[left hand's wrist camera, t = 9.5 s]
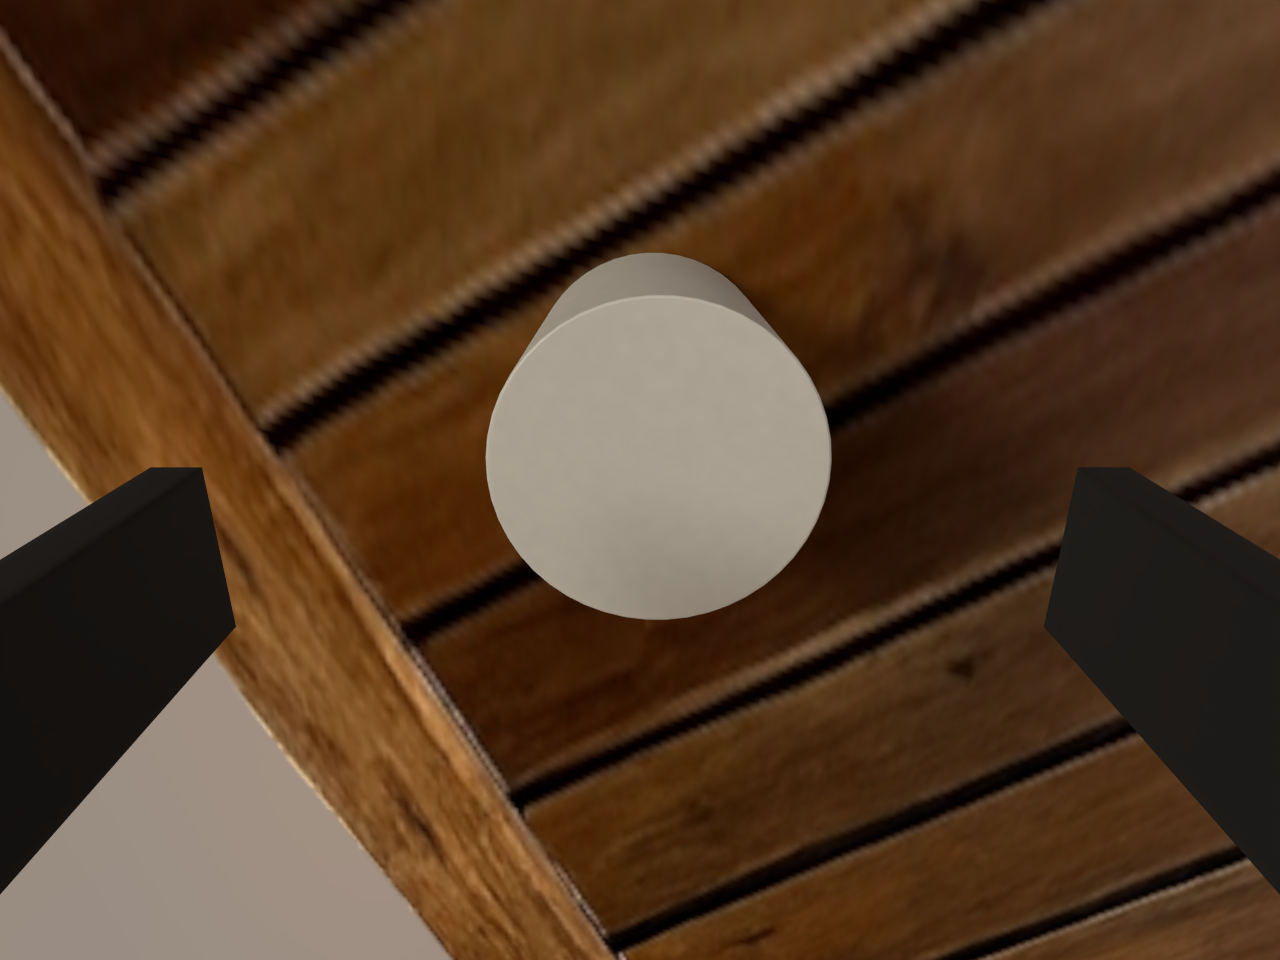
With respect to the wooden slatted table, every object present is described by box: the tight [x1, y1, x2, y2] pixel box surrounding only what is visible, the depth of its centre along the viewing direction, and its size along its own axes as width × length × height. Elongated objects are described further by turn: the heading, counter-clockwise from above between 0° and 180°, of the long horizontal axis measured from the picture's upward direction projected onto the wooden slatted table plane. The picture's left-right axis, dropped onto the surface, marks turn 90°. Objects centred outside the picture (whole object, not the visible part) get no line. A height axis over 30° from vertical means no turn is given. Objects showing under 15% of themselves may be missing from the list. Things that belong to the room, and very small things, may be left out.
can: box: [486, 253, 832, 620], centre depth 22 cm, size 8×8×9 cm
